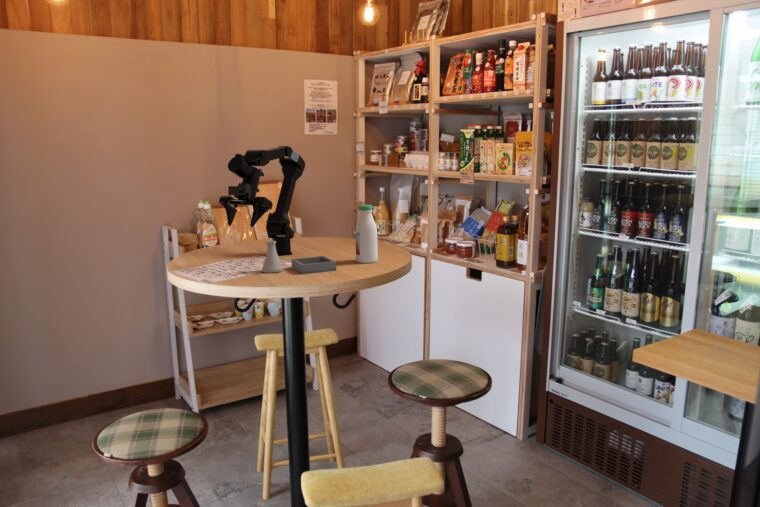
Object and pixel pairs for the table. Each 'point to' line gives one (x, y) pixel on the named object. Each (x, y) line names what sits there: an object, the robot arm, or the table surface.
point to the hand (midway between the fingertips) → (240, 226)
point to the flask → (272, 259)
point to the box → (313, 264)
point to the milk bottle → (366, 236)
